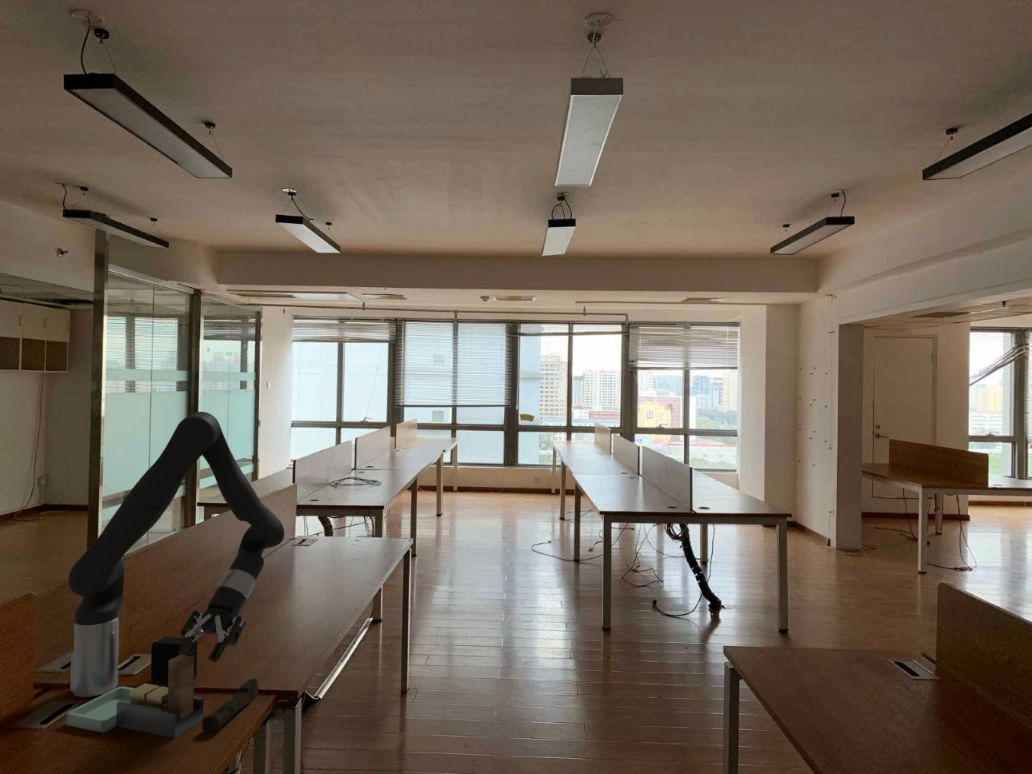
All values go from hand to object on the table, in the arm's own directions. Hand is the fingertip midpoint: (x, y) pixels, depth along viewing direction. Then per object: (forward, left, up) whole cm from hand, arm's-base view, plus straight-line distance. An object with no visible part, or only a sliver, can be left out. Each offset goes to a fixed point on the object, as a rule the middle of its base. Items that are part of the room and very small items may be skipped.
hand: (196, 658), depth 146 cm
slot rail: (-6, -4, -13) cm, 15 cm away
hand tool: (+6, +5, -14) cm, 16 cm away
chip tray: (-19, -4, -13) cm, 24 cm away
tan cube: (-10, -4, -10) cm, 15 cm away
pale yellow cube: (-5, -4, -10) cm, 12 cm away
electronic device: (-20, +14, -14) cm, 27 cm away
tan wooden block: (0, -4, -10) cm, 11 cm away
